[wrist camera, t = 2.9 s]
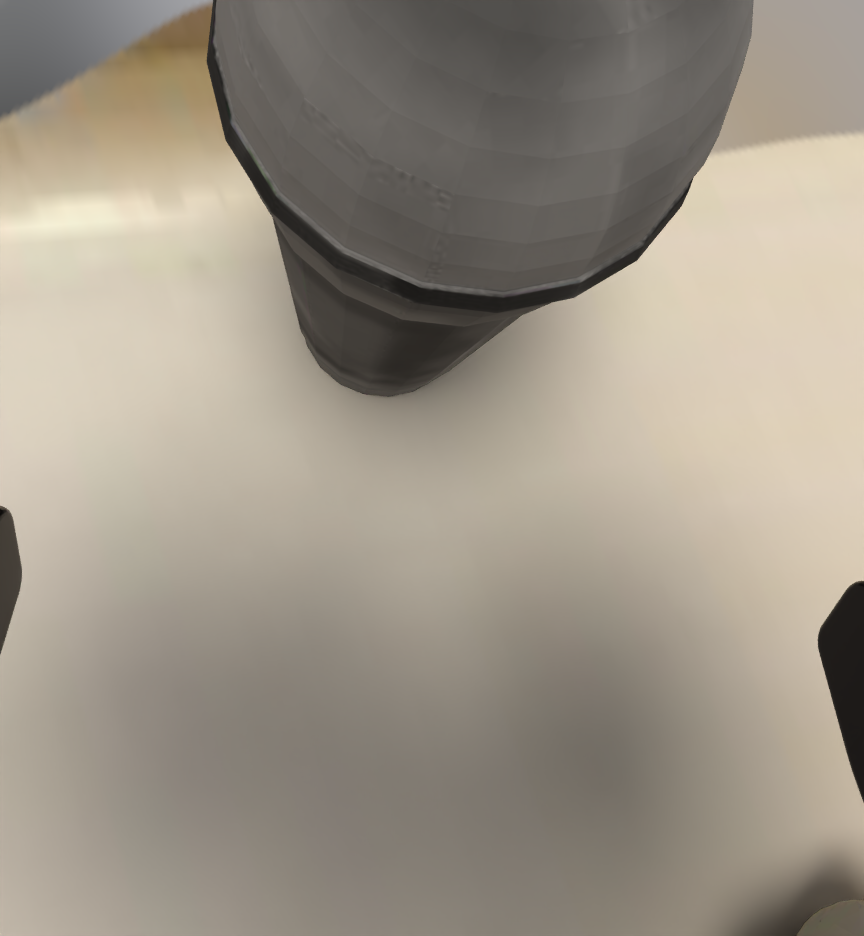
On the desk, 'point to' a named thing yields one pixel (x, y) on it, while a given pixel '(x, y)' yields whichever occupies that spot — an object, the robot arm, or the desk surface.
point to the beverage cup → (464, 156)
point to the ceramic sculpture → (836, 920)
